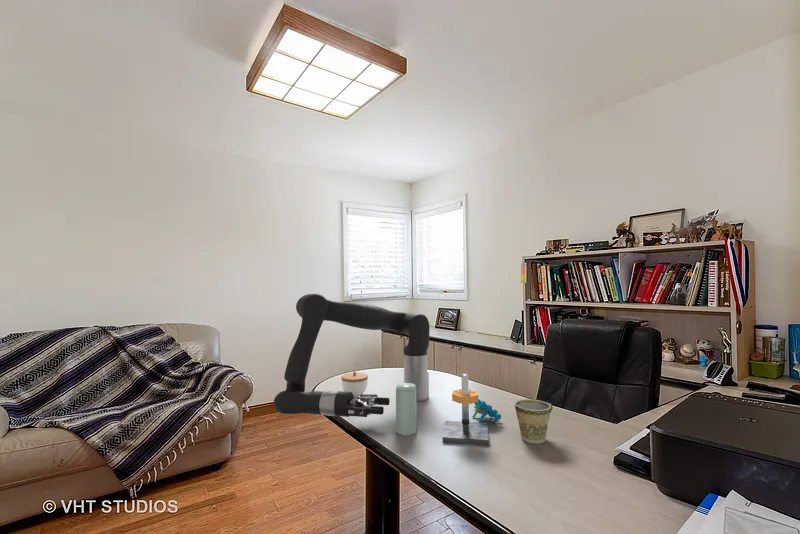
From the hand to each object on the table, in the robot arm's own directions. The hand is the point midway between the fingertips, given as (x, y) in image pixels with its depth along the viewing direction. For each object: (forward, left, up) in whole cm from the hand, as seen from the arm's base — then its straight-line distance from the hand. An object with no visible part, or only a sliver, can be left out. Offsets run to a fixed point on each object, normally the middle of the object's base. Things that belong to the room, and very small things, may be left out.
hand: (386, 405), depth 122 cm
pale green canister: (-3, +5, -8) cm, 10 cm away
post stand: (-12, +21, -8) cm, 25 cm away
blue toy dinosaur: (-27, +20, -8) cm, 34 cm away
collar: (-12, +21, +3) cm, 24 cm away
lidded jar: (-19, -35, -8) cm, 40 cm away
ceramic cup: (-23, +38, -8) cm, 45 cm away
